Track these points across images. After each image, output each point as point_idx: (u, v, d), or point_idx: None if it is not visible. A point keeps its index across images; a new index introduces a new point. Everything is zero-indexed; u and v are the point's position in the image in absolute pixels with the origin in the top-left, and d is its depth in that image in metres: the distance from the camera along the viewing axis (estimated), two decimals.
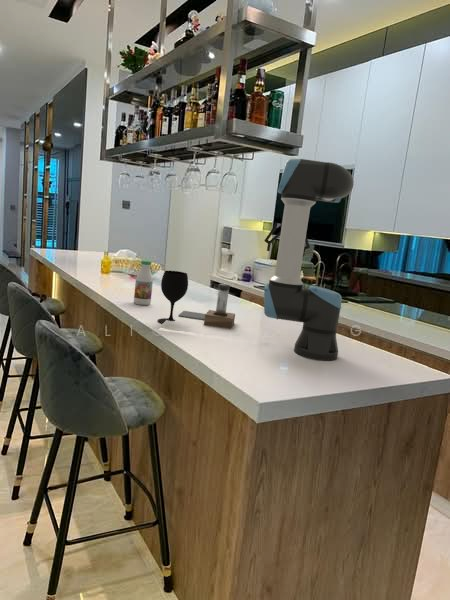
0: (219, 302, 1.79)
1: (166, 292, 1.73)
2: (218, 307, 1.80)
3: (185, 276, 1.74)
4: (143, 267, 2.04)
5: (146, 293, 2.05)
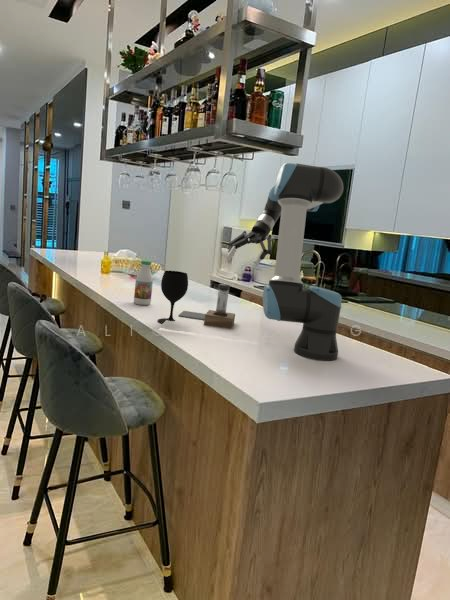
0: (219, 302, 1.80)
1: (166, 292, 1.73)
2: (218, 307, 1.80)
3: (185, 276, 1.74)
4: (143, 267, 2.04)
5: (146, 293, 2.05)
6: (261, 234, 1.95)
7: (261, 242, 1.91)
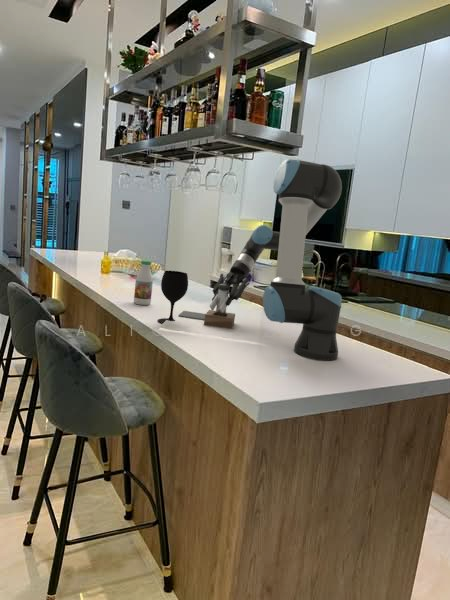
0: (219, 302, 1.80)
1: (166, 292, 1.73)
2: (218, 307, 1.80)
3: (185, 276, 1.74)
4: (143, 267, 2.04)
5: (146, 293, 2.05)
6: (241, 275, 1.85)
7: (233, 285, 1.82)
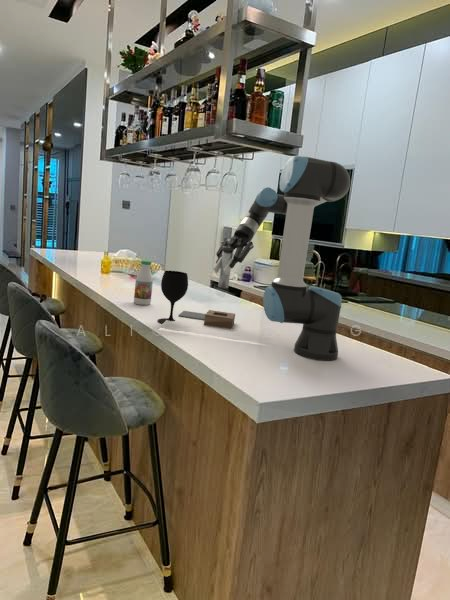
0: (223, 264, 1.77)
1: (166, 292, 1.73)
2: (222, 270, 1.78)
3: (185, 276, 1.74)
4: (143, 267, 2.04)
5: (146, 293, 2.05)
6: (245, 238, 1.83)
7: (238, 248, 1.80)
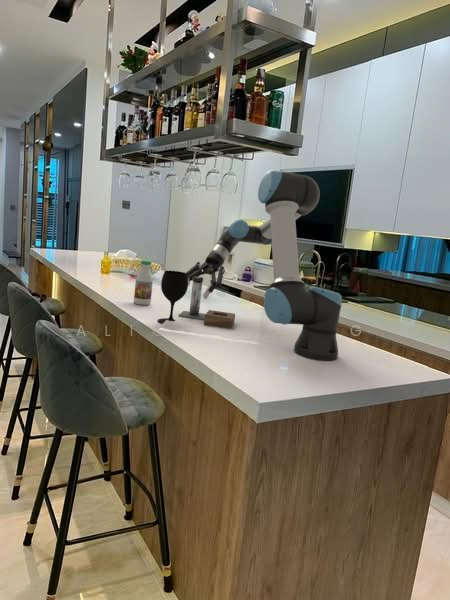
0: (193, 293, 1.88)
1: (166, 292, 1.73)
2: (192, 298, 1.89)
3: (185, 276, 1.74)
4: (143, 267, 2.04)
5: (146, 293, 2.05)
6: (214, 265, 1.94)
7: (212, 274, 1.91)
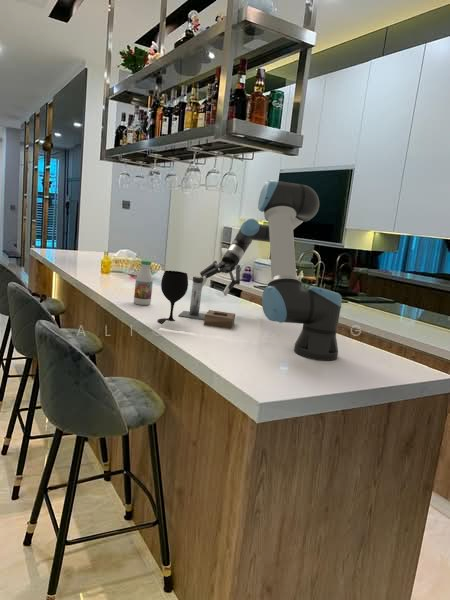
0: (193, 293, 1.88)
1: (166, 292, 1.73)
2: (192, 299, 1.89)
3: (185, 276, 1.74)
4: (143, 267, 2.04)
5: (146, 293, 2.05)
6: (230, 264, 2.05)
7: (230, 272, 2.01)
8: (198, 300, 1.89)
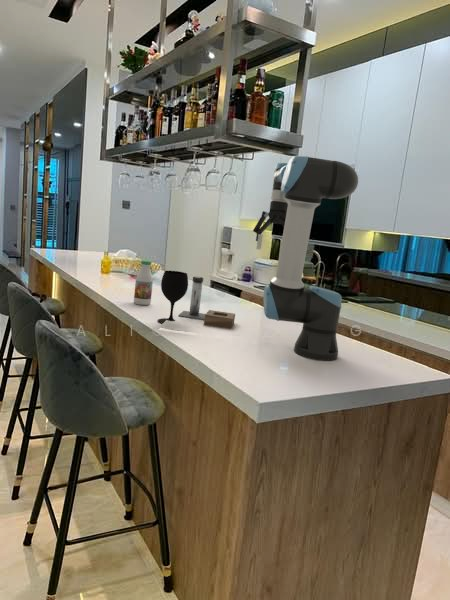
0: (193, 293, 1.88)
1: (166, 292, 1.73)
2: (192, 298, 1.89)
3: (185, 276, 1.74)
4: (143, 267, 2.04)
5: (146, 293, 2.05)
6: (281, 214, 1.90)
7: (284, 226, 1.90)
8: (198, 300, 1.89)
